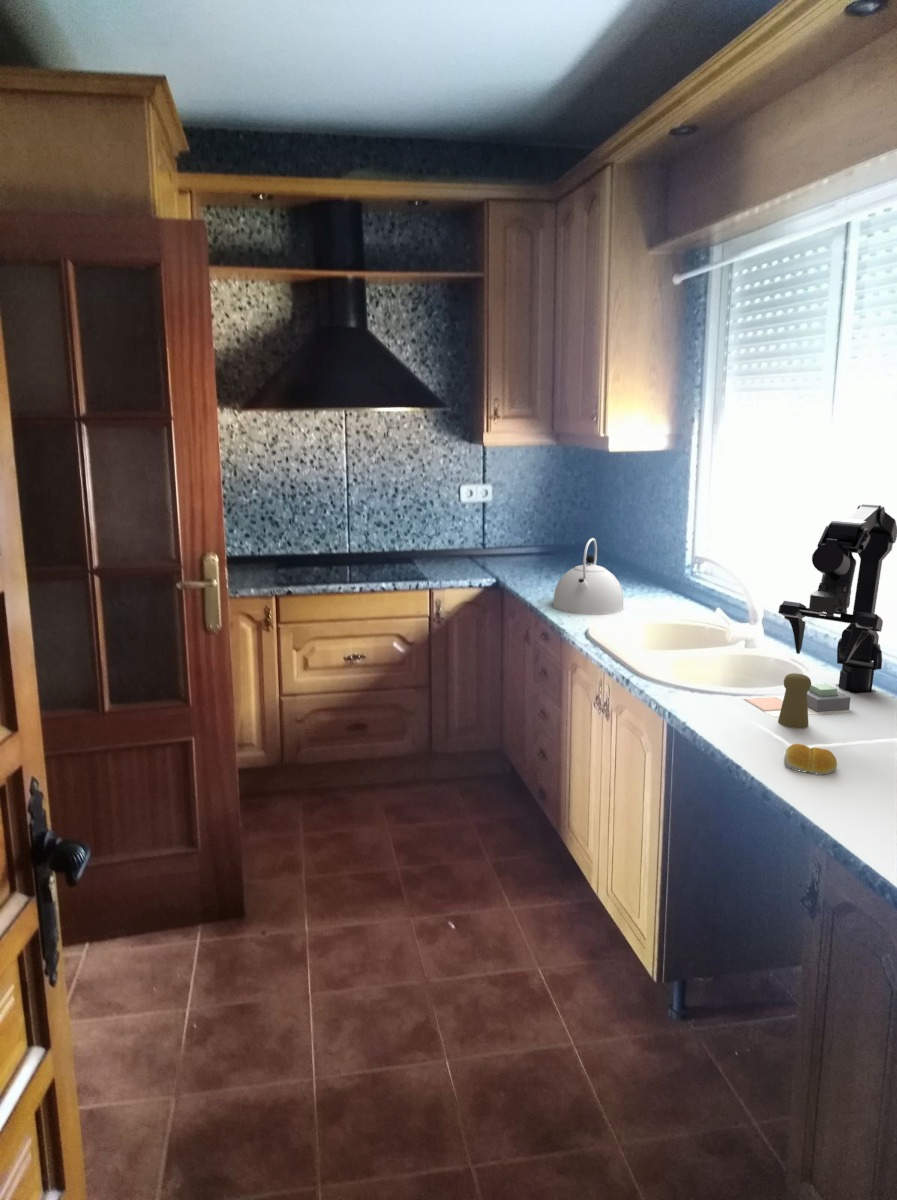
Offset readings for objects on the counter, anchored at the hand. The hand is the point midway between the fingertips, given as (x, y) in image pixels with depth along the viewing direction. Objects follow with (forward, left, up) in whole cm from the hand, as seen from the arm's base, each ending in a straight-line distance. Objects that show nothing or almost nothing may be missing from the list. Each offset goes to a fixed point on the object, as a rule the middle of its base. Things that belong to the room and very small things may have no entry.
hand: (821, 657), depth 176 cm
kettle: (+5, -113, -16) cm, 114 cm away
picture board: (-4, -12, -15) cm, 20 cm away
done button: (-10, -11, -13) cm, 20 cm away
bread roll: (+13, +17, -16) cm, 26 cm away
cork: (+3, -2, -15) cm, 16 cm away
